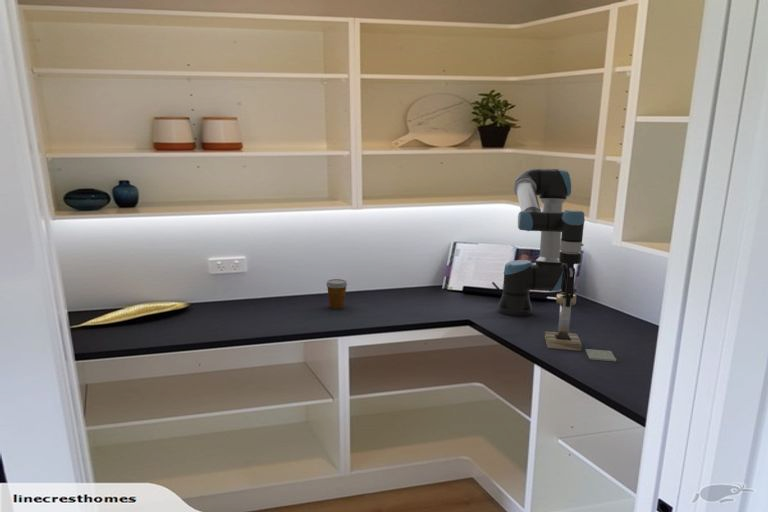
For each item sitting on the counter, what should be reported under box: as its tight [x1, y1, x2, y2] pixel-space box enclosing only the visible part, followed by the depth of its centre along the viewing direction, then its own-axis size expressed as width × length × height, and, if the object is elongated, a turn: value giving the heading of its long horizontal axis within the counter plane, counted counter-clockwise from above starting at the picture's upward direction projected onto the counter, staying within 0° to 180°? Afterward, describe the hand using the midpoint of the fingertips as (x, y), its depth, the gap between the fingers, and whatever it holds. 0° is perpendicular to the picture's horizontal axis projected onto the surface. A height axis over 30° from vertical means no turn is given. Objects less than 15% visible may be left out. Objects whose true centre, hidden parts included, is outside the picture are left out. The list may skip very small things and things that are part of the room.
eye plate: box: [544, 331, 583, 352], centre depth 214 cm, size 12×12×2 cm
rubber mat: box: [584, 348, 617, 363], centre depth 203 cm, size 9×9×1 cm
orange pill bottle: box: [326, 278, 348, 310], centre depth 255 cm, size 10×10×12 cm
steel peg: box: [555, 292, 577, 340], centre depth 212 cm, size 7×7×17 cm
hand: (565, 311), depth 212 cm, fingers closed on steel peg, 7 cm apart
